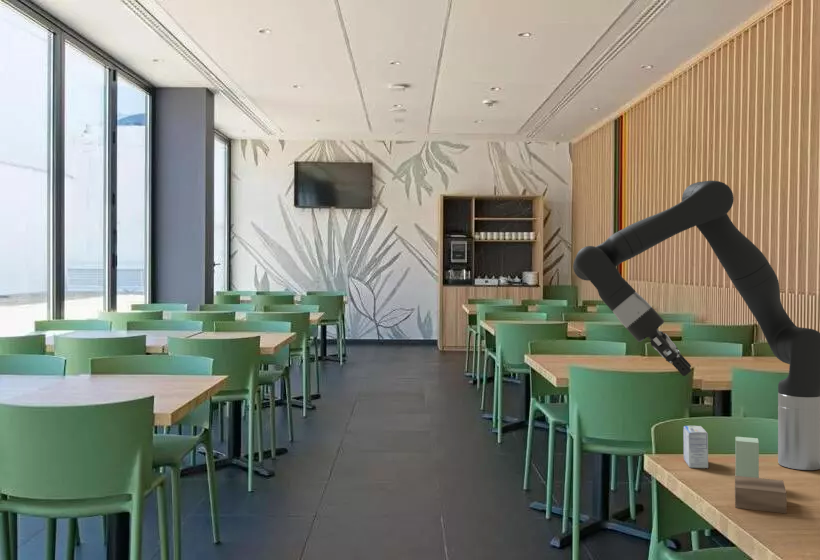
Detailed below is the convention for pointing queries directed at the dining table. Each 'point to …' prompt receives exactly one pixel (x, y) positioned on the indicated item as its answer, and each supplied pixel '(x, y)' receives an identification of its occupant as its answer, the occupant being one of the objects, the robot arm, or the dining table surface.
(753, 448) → the sage block
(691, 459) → the medicine box
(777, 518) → the dining table surface
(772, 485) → the walnut plinth
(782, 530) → the dining table surface
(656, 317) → the robot arm
